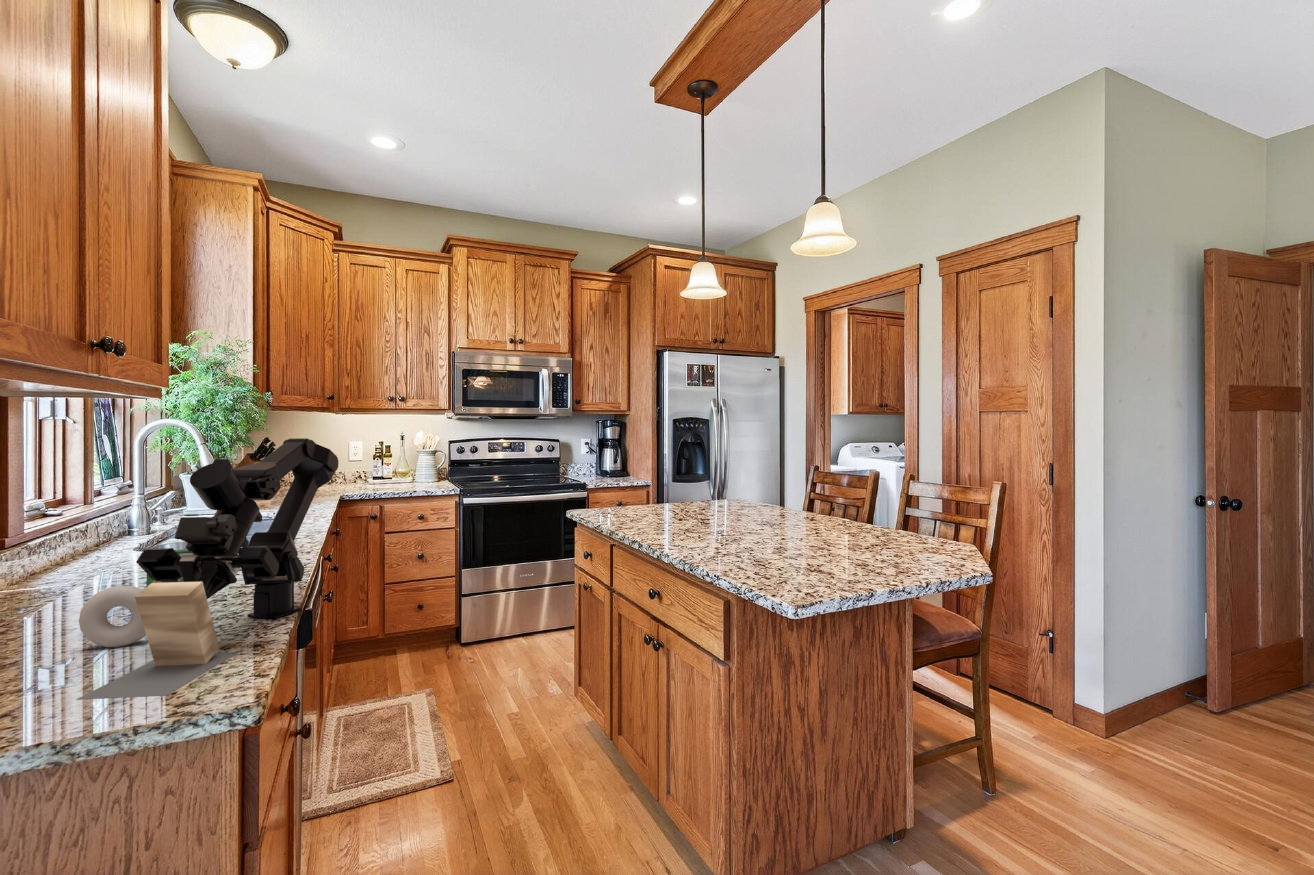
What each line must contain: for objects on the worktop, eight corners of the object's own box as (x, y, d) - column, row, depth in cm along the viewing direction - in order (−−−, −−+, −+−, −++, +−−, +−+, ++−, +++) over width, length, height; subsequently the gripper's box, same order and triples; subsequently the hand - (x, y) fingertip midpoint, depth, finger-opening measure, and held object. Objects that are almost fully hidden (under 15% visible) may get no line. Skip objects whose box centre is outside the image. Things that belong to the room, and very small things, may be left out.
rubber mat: (163, 656, 94) (163, 655, 94) (238, 653, 96) (238, 652, 96) (76, 700, 79) (76, 699, 79) (167, 696, 80) (167, 695, 80)
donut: (161, 639, 102) (160, 580, 102) (153, 645, 99) (153, 584, 99) (84, 647, 98) (84, 586, 98) (74, 654, 95) (74, 591, 95)
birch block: (170, 650, 93) (151, 583, 89) (219, 648, 94) (202, 581, 90) (155, 665, 90) (134, 596, 86) (205, 663, 91) (187, 595, 87)
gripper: (145, 497, 96) (87, 583, 85) (270, 496, 98) (229, 579, 87) (179, 539, 104) (129, 623, 93) (294, 537, 106) (259, 619, 95)
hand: (185, 611), depth 91 cm, fingers closed
